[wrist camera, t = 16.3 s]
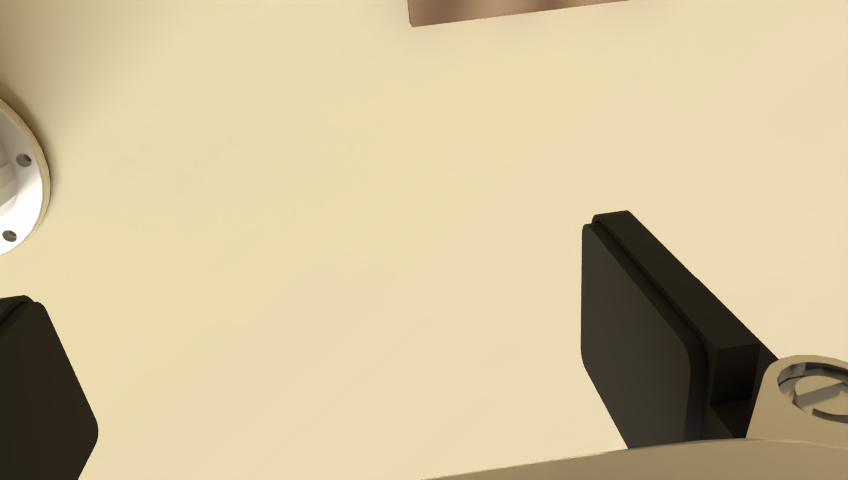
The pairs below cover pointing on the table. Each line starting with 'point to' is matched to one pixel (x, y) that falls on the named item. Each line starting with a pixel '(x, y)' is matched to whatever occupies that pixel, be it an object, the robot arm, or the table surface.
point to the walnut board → (482, 9)
